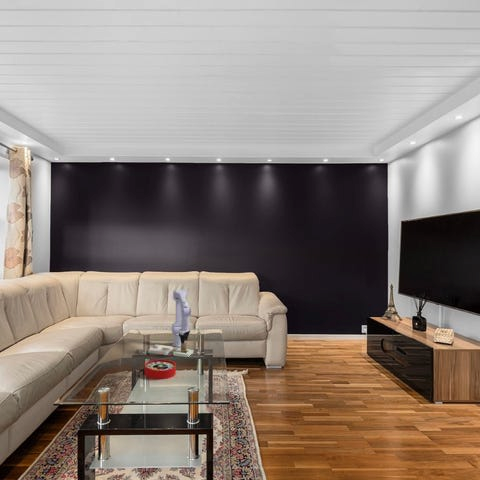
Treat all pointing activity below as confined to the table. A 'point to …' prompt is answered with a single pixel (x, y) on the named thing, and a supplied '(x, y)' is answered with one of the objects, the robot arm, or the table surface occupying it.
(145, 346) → the table surface
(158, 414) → the table surface
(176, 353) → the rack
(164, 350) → the socket block
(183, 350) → the peg
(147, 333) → the table surface
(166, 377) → the toy clock
